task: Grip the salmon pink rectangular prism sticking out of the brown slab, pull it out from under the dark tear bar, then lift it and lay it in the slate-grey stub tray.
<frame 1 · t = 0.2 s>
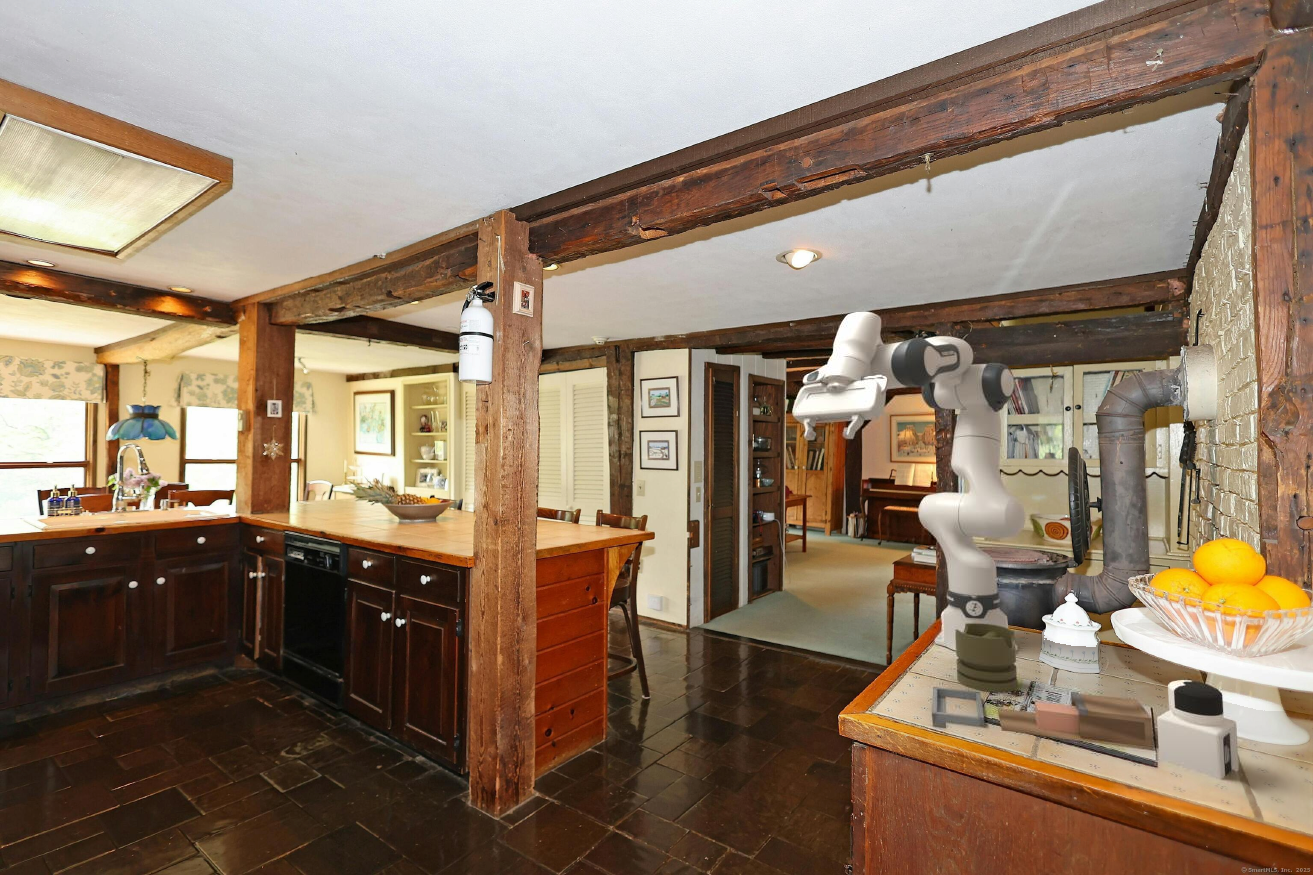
hand: (827, 438, 127), 54 cm above the table, tool tilted 30°, fingers open, 8 cm apart
brown slab: (1070, 733, 112), on the table
salmon pink rectangular prism: (1069, 727, 112), point 1 cm above the table, touching brown slab
piston: (986, 687, 134), on the table
container: (1198, 769, 99), on the table
tray: (957, 714, 121), on the table
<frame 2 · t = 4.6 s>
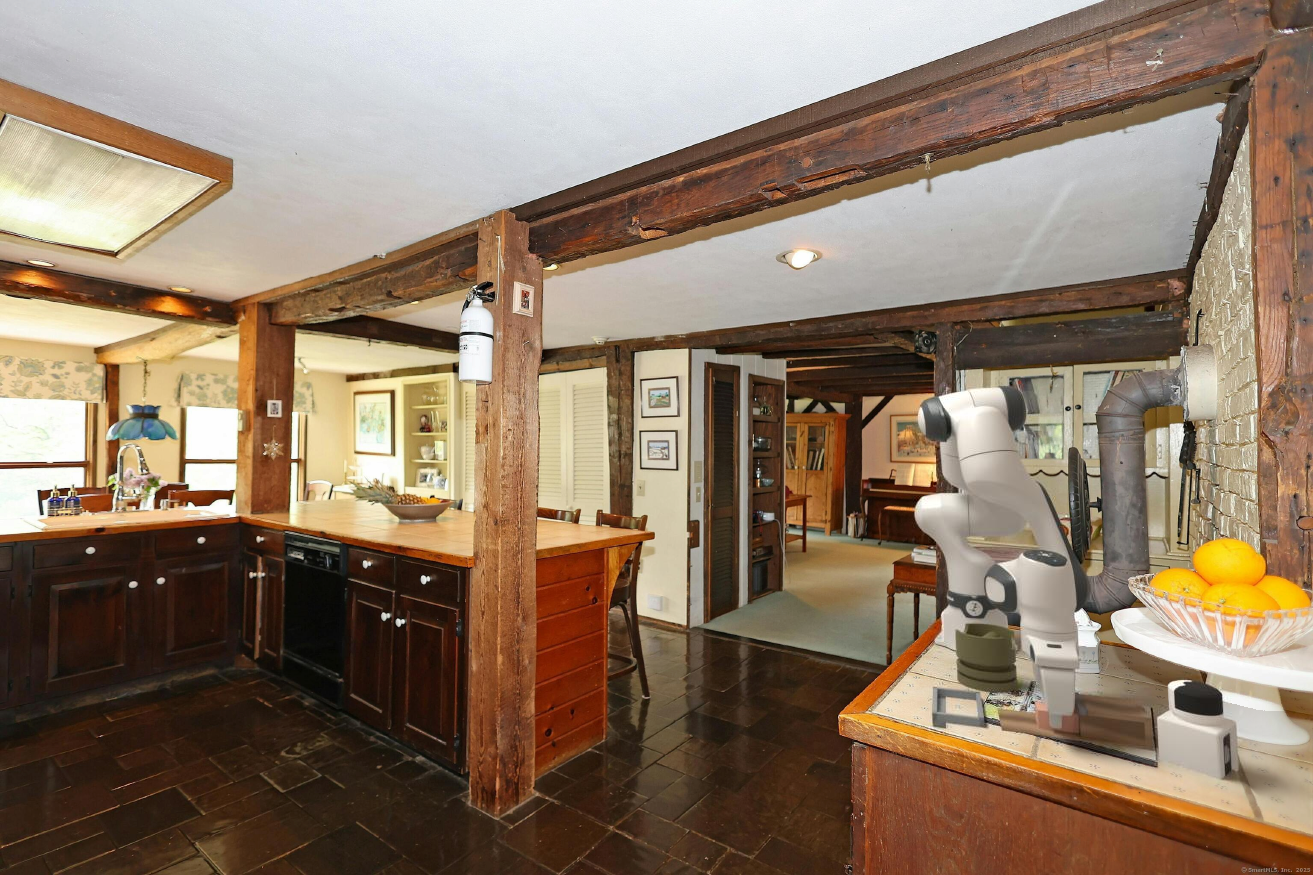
hand: (1052, 720, 113), 2 cm above the table, tool pointing down, fingers closed on salmon pink rectangular prism, 4 cm apart
salmon pink rectangular prism: (1069, 727, 112), point 1 cm above the table, touching brown slab, gripper
everything else where it was.
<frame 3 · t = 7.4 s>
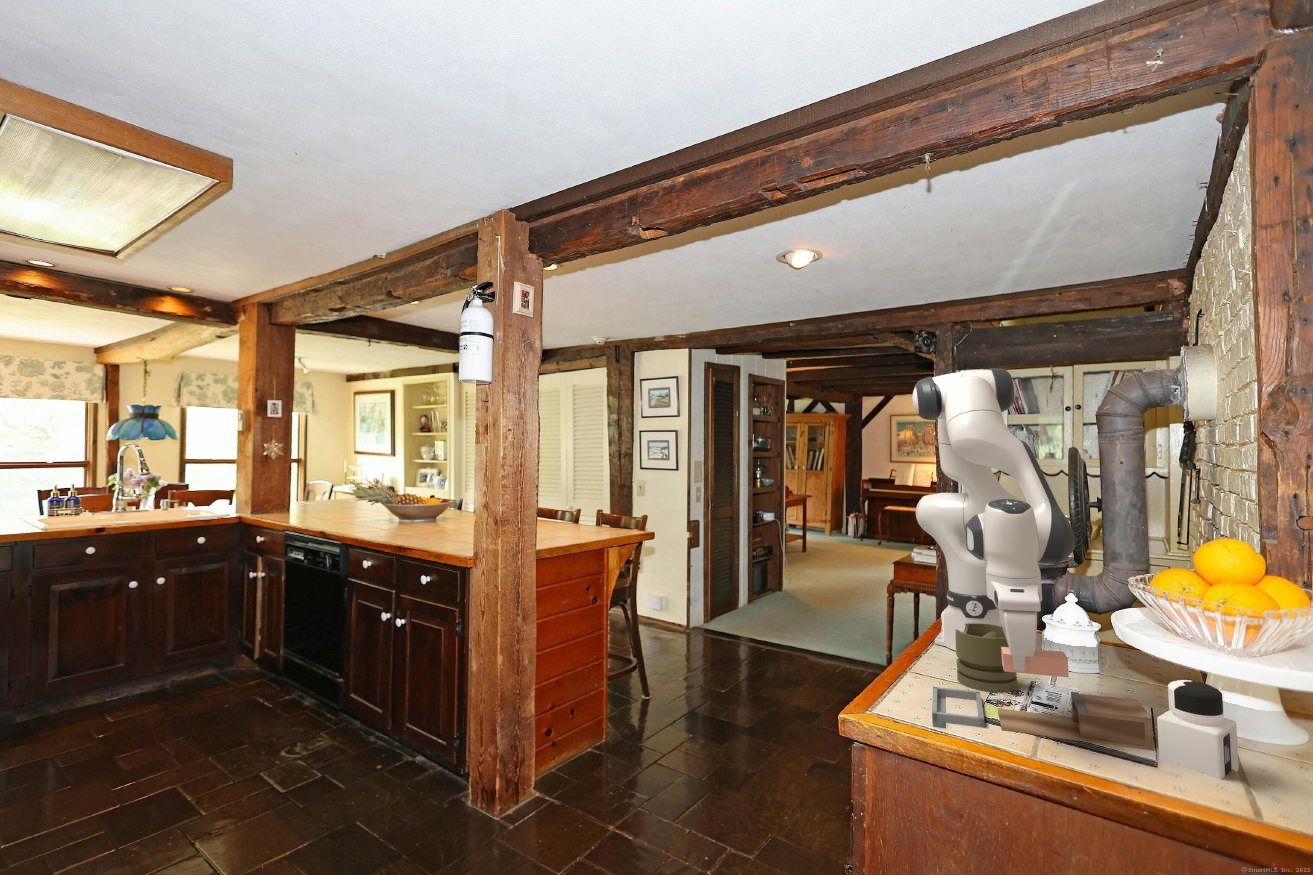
hand: (1017, 664, 116), 11 cm above the table, tool pointing down, fingers closed on salmon pink rectangular prism, 4 cm apart
salmon pink rectangular prism: (1034, 670, 115), point 10 cm above the table, touching gripper
everything else where it was.
when the fingers open (3 cm above the table, at t = 10.0 s): salmon pink rectangular prism drops 2 cm, resting on tray.
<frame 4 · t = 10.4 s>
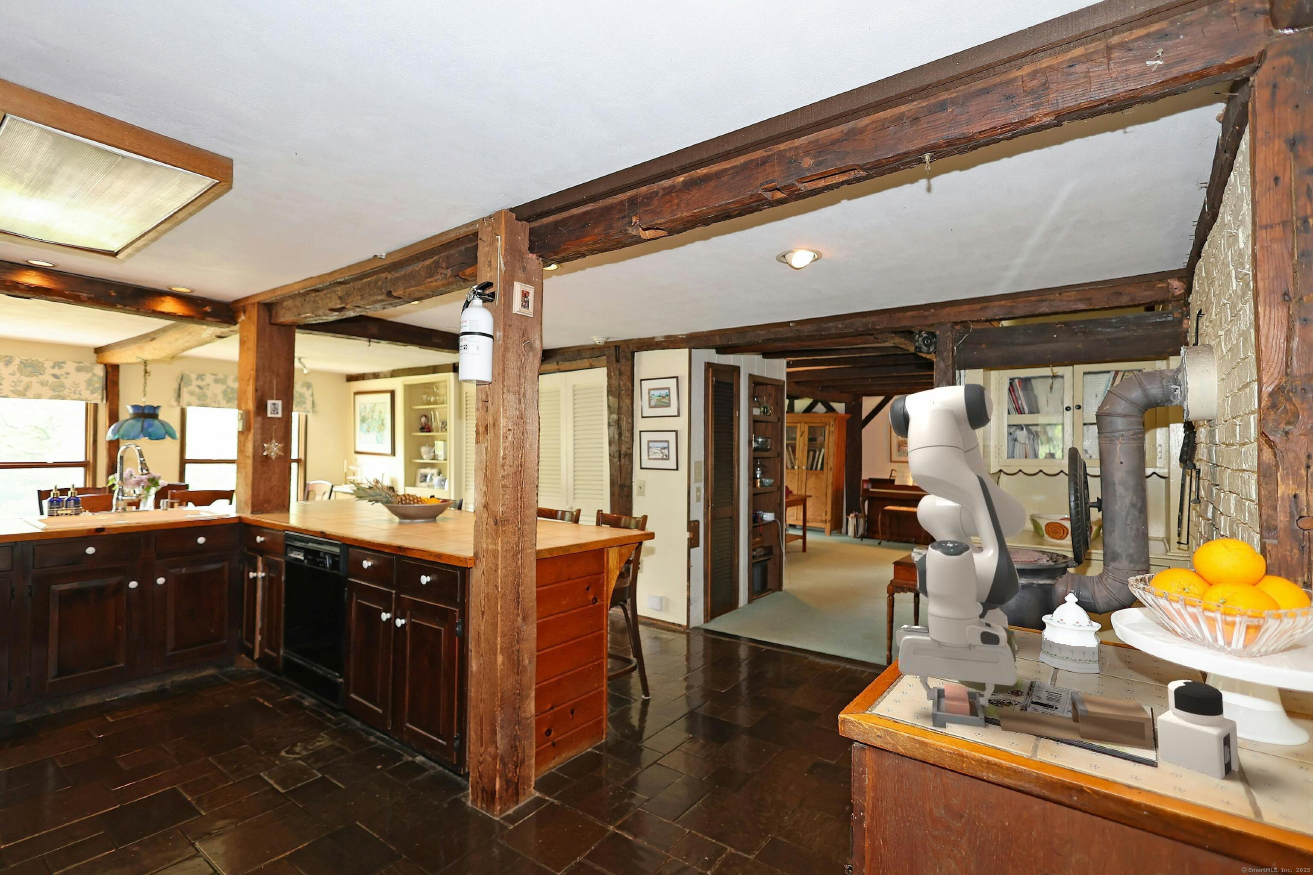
hand: (957, 702, 119), 3 cm above the table, tool pointing down, fingers open, 8 cm apart
salmon pink rectangular prism: (956, 710, 121), point 1 cm above the table, touching tray
everything else where it was.
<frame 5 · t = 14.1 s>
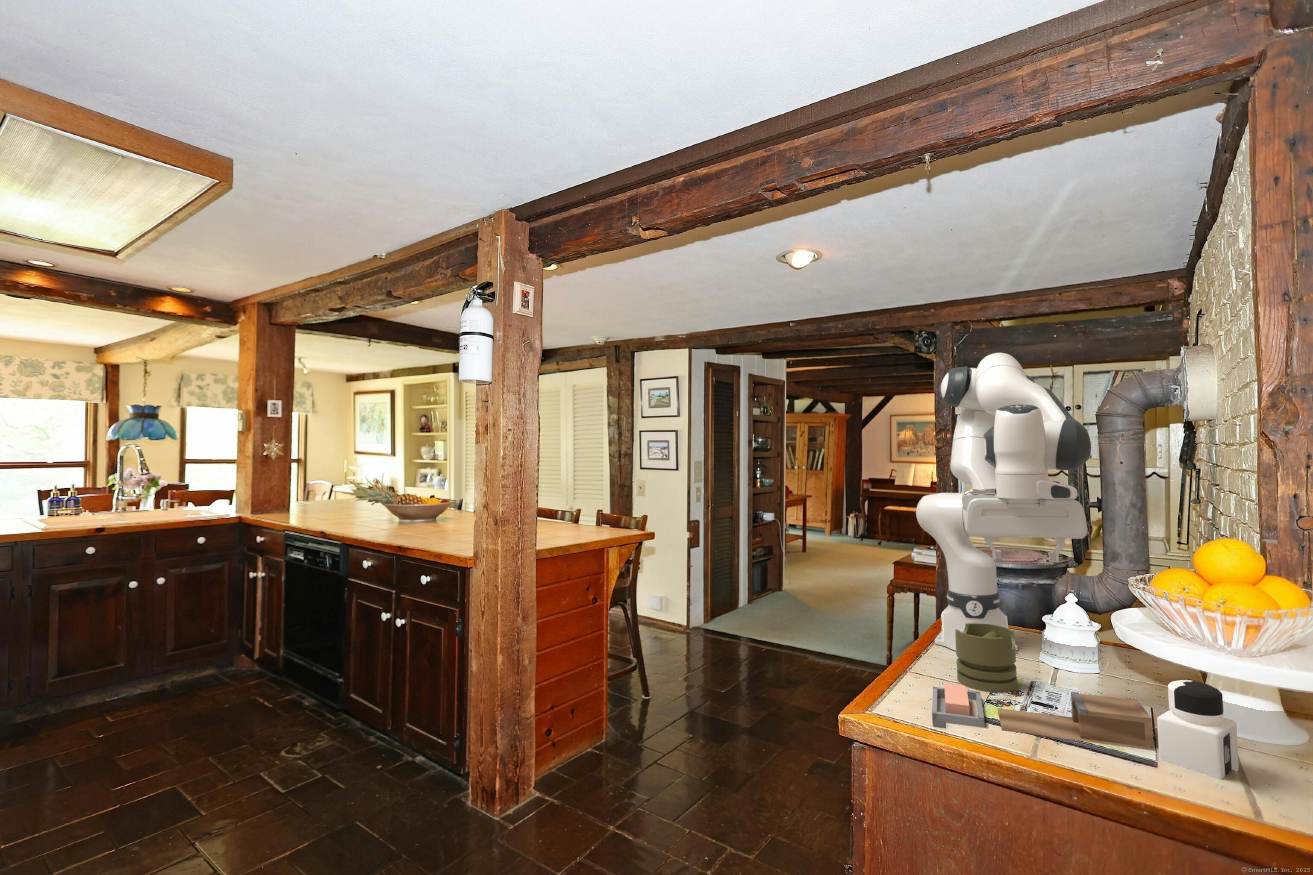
hand: (1024, 560, 121), 29 cm above the table, tool pointing down, fingers open, 8 cm apart
nothing on the table moved.
at the end: salmon pink rectangular prism inside the target area on the tray (0.2 cm from its centre), point 0.6 cm above the tray's base; salmon pink rectangular prism point 0.6 cm above the table; the gripper is holding nothing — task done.
